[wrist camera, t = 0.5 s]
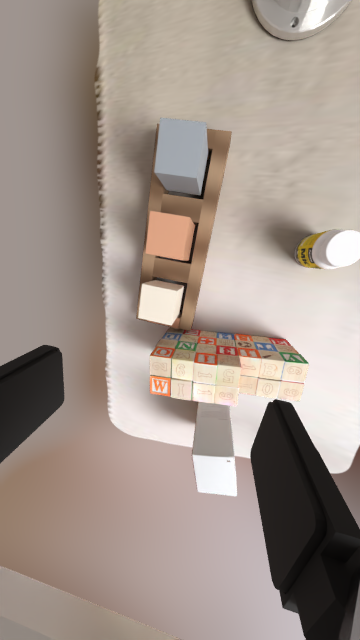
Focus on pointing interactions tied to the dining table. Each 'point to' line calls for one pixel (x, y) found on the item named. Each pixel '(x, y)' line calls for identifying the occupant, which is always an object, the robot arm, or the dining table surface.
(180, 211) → the button board
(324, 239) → the supplement bottle
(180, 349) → the stack of blocks
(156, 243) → the peach block
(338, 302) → the dining table surface
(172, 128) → the button slate
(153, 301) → the button cream
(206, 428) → the small box
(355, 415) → the dining table surface
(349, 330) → the dining table surface
